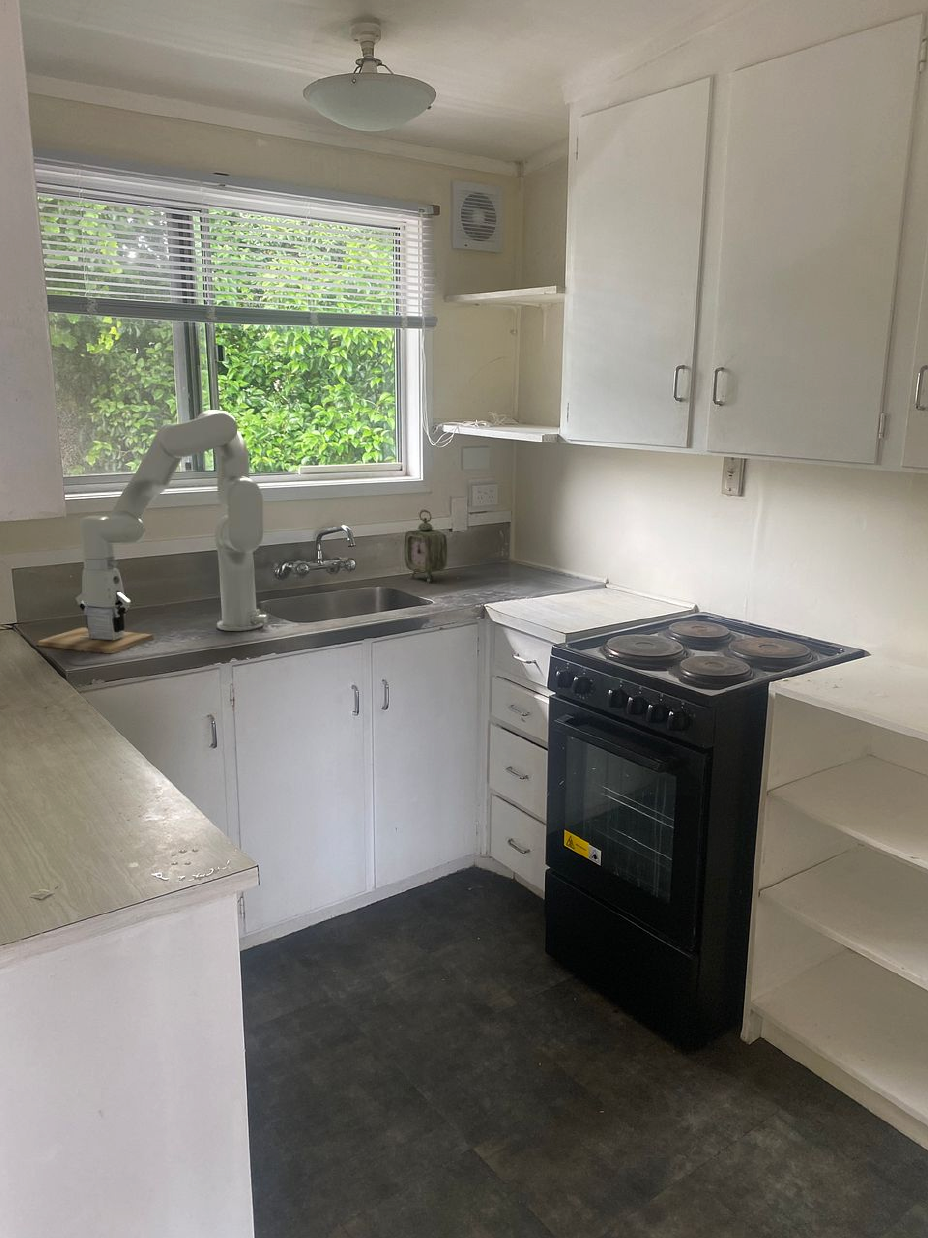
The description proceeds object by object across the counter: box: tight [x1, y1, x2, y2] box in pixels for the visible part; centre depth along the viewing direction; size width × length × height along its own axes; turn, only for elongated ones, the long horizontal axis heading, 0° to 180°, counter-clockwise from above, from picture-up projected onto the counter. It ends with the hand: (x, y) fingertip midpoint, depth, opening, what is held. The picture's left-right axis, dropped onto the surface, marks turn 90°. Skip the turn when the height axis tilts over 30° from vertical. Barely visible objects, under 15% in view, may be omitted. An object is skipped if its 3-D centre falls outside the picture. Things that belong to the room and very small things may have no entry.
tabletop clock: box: [404, 509, 448, 584], centre depth 327 cm, size 14×9×25 cm, turn 37°
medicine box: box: [86, 606, 125, 640], centre depth 243 cm, size 8×4×9 cm, turn 72°
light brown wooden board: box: [37, 626, 155, 654], centre depth 245 cm, size 24×16×1 cm, turn 70°
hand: (105, 629), depth 243 cm, fingers closed on medicine box, 8 cm apart
